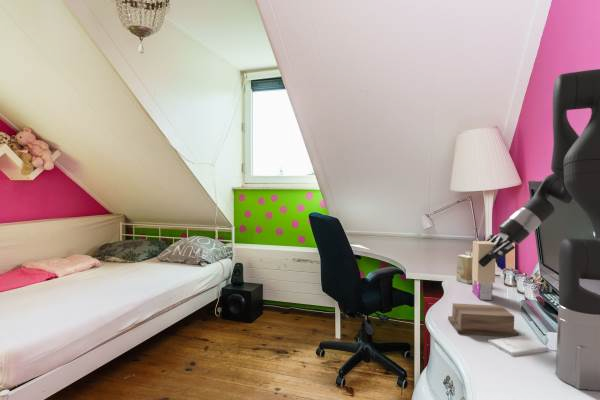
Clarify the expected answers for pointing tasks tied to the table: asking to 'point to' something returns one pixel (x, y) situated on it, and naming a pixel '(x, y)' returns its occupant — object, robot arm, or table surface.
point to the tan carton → (478, 271)
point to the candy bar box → (482, 290)
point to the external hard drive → (518, 345)
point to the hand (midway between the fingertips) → (477, 262)
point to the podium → (482, 320)
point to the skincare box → (464, 269)
